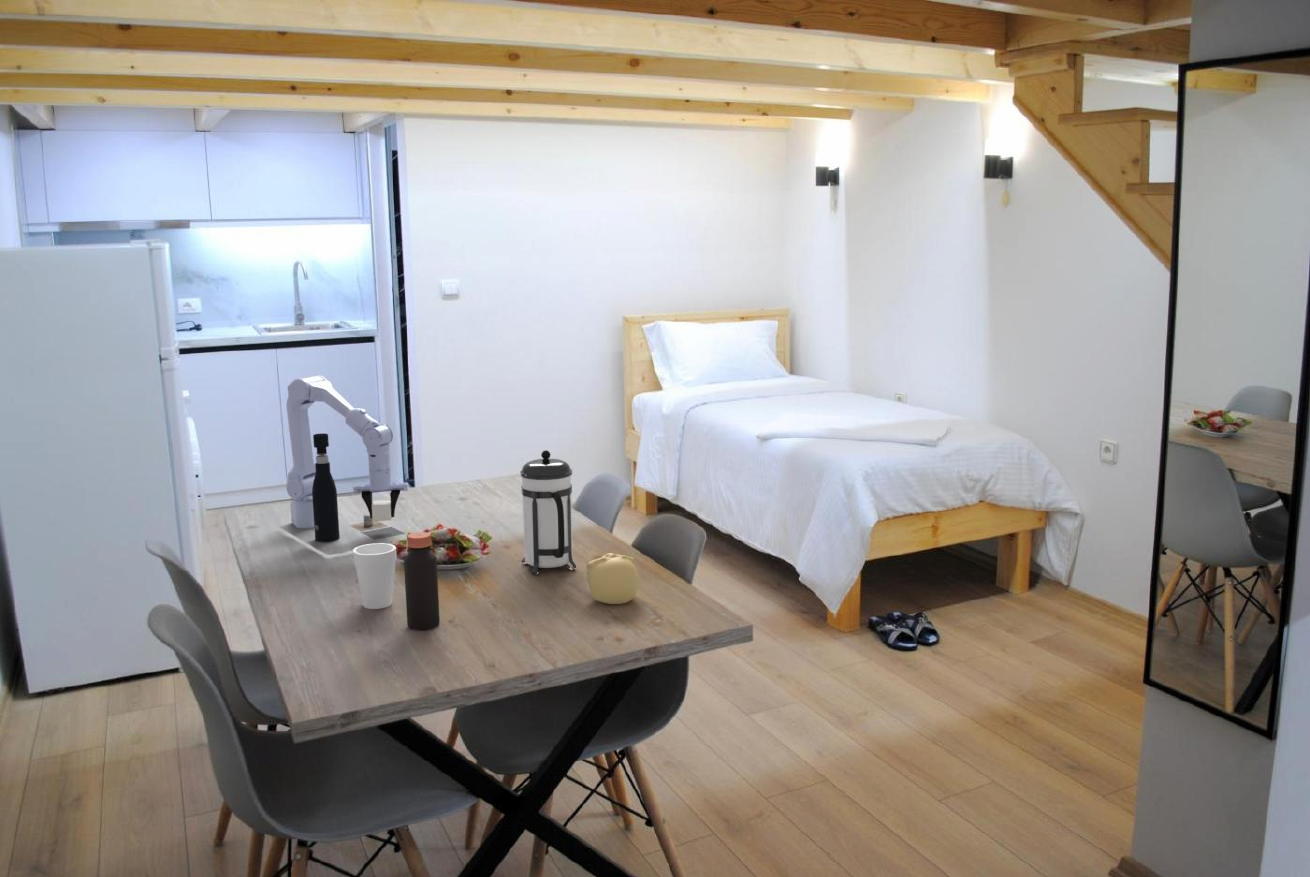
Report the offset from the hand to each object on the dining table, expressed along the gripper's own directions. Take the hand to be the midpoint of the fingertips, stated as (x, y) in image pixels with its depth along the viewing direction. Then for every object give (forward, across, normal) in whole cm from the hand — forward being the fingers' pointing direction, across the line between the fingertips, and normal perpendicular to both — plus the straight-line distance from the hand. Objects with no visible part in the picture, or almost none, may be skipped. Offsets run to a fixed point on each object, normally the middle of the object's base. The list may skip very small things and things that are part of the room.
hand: (382, 516), depth 294 cm
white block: (0, 0, 0) cm, 1 cm away
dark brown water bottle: (+6, -15, +73) cm, 75 cm away
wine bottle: (+6, +15, +3) cm, 16 cm away
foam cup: (+6, -4, +58) cm, 58 cm away
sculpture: (+6, -57, +64) cm, 86 cm away
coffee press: (+6, -44, +38) cm, 59 cm away
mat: (+6, 0, 0) cm, 6 cm away
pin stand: (+6, +5, -9) cm, 11 cm away
